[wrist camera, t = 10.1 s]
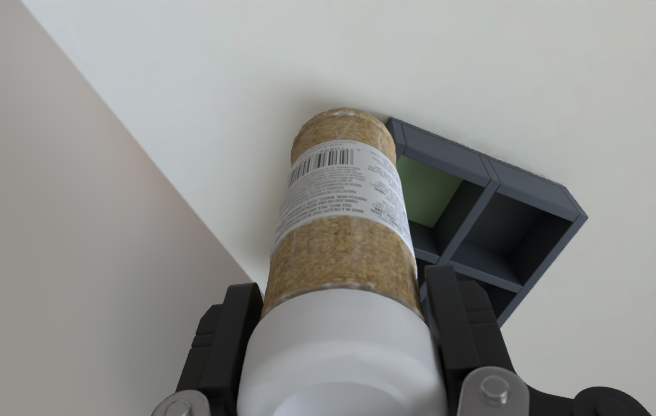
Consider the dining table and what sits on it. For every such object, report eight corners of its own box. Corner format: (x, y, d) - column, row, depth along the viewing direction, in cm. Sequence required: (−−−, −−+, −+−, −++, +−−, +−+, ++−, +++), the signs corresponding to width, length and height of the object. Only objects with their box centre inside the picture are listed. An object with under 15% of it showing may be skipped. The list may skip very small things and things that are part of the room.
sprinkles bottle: (300, 204, 24) (256, 497, 12) (283, 110, 21) (207, 360, 10) (400, 194, 23) (453, 488, 12) (394, 96, 21) (452, 344, 9)
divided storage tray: (315, 267, 46) (313, 302, 42) (390, 116, 38) (395, 141, 34) (467, 318, 48) (478, 355, 44) (565, 186, 41) (589, 217, 37)
